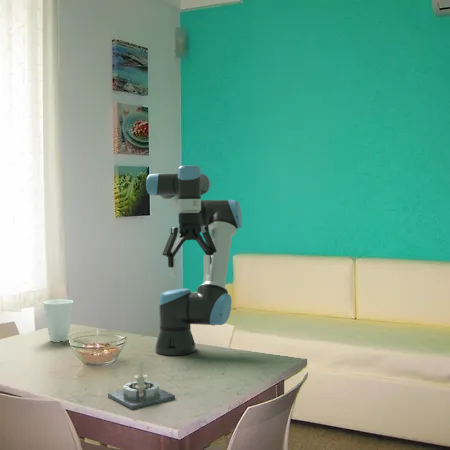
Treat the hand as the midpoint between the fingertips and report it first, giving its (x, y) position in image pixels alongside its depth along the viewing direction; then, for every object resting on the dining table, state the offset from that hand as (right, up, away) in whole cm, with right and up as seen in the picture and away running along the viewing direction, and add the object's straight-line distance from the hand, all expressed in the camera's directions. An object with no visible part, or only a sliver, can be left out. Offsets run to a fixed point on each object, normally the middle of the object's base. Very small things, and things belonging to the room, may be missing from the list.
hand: (190, 275), depth 201 cm
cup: (-57, -31, +47) cm, 80 cm away
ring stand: (-13, -33, -28) cm, 45 cm away
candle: (-13, -32, -28) cm, 44 cm away
